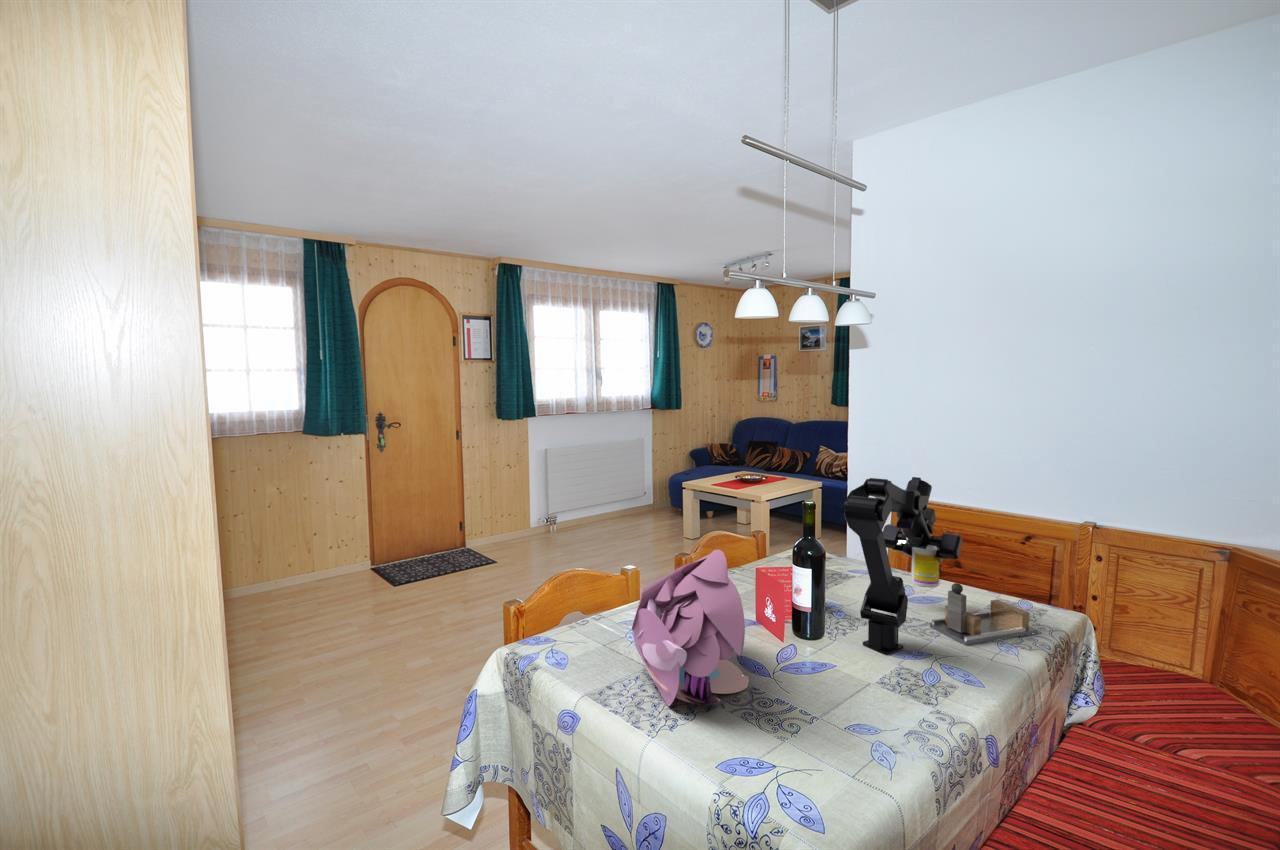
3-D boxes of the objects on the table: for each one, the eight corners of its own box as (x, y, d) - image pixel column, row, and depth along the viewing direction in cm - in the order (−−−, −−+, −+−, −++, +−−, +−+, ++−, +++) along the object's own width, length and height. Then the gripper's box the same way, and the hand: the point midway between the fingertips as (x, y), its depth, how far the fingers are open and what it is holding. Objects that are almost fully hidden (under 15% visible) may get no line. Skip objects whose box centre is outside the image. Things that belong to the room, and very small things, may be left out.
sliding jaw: (966, 637, 135) (967, 589, 135) (938, 622, 144) (939, 578, 143) (980, 634, 136) (981, 587, 136) (951, 620, 145) (952, 576, 144)
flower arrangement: (780, 733, 110) (814, 589, 107) (666, 738, 101) (702, 581, 98) (696, 641, 142) (721, 529, 140) (605, 639, 133) (630, 519, 131)
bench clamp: (965, 645, 134) (965, 624, 134) (929, 626, 144) (929, 607, 144) (1037, 633, 140) (1038, 613, 139) (997, 616, 150) (998, 597, 150)
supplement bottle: (943, 589, 152) (944, 540, 151) (916, 588, 153) (917, 539, 152) (932, 580, 159) (934, 533, 158) (907, 579, 159) (908, 533, 159)
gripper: (961, 503, 145) (973, 539, 154) (884, 494, 158) (899, 528, 167) (950, 540, 140) (963, 575, 148) (872, 528, 153) (888, 561, 161)
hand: (927, 558), depth 156 cm, fingers closed on supplement bottle, 7 cm apart
